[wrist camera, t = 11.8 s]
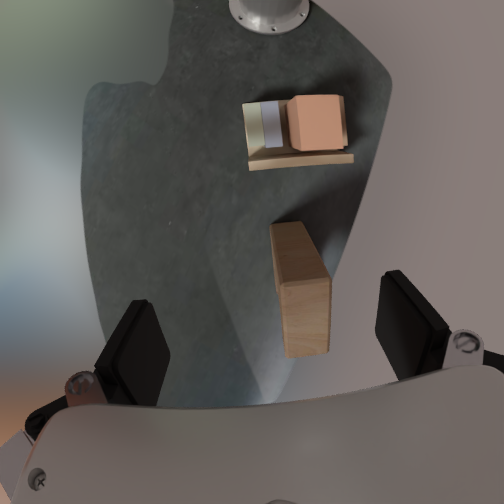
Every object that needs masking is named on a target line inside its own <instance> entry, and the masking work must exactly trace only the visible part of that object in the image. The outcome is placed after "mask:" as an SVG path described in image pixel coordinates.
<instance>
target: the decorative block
mask: <svg viewBox="0 0 504 504" xmlns="http://www.w3.org/2000/svg"><path fill="white" fill-rule="evenodd" d="M269 227H270V236H271V246H272V256H273V266H274V276H275V285H276V292H277V294H278V295H279V303H280V313H281V323H282V334H283V342H284V349H285V357H287V358H296V357H304V356H311V355H317V354H325V353H327V352H328V351H329V345H330V344H329V343H330V327H331V298H332V279H331V277H330V275H329V273H328V271H327V269H326V267H325V265H324V263H323V261H322V259H321V257H320V255H319V253H318V251H317V249H316V247H315V246H314V244H313V242H312V240H311V238H310V236H309V234H308V232H307V230H306V228H305V227H304V225H303V223H302V222H301V221H295V222H285V223H276V224H271V225H270V226H269Z"/></svg>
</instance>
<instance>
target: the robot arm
mask: <svg viewBox="0 0 504 504" xmlns="http://www.w3.org/2000/svg"><path fill="white" fill-rule="evenodd" d="M229 8H230V12H231V14H232V16H233V18H234V19H235V20H236V21H237V22H238V23H239V24H240V25H241V26H243V27H244V28H246V29H248V30H250V31H252V32H255V33H259V34H265V35H278V34H284V33H287V32H290V31H292V30H294V29H296V28H297V27H299V26H300V25H301V24H302V23H303V22H304V20H305V19H306V17H307V15H308V12H309V1H308V0H229ZM300 15H302V16H303V17H302V16H300ZM240 18H242V20H239V19H240ZM272 30H275V31H272ZM375 333H376V336H377V339H378V341H379V342H380V344H381V346H382V348H383V350H384V352H385V354H386V356H387V358H388V360H389V362H390V364H391V366H392V368H393V370H394V372H395V374H396V376H397V378H398V380H399V381H396V382H392V383H388V384H384V385H380V386H375V387H371V388H366V389H362V390H358V391H352V392H347V393H342V394H337V395H332V396H325V397H319V398H312V399H306V400H298V401H291V402H282V403H272V404H261V405H248V406H230V407H158V406H156V404H157V401H158V397H159V394H160V391H161V387H162V384H163V381H164V377H165V374H166V371H167V367H168V364H169V361H170V351H169V348H168V346H167V343H166V341H165V338H164V335H163V333H162V330H161V327H160V325H159V322H158V319H157V316H156V314H155V311H154V308H153V305H152V303H148V301H147V300H146V299H144V300H133V301H132V302H131V304H130V305H129V307H128V309H127V310H126V312H125V314H124V315H123V317H122V319H121V320H120V322H119V323H118V325H117V327H116V329H115V330H114V332H113V334H112V335H111V337H110V339H109V340H108V342H107V344H106V346H105V347H104V349H103V351H102V353H101V354H100V356H99V358H98V360H97V362H96V363H95V365H94V366H95V368H96V369H95V370H94V372H91V371H81V372H78V373H76V374H74V375H72V376H71V377H70V378H69V379H68V381H67V382H66V384H65V396H63V397H61V398H59V399H57V400H55V401H53V402H51V403H49V404H47V405H45V406H43V407H41V408H39V409H37V410H35V411H34V412H33V413H31V414H30V415H29V417H28V418H27V420H26V422H25V431H22V429H21V430H20V431H18V432H17V433H16V434H15V435H14V436H12V437H11V438H10V439H9V440H8V441H7V442H6V443H4V444H3V445H2V446H1V447H0V482H1V484H2V486H3V488H4V490H5V491H6V493H7V495H8V497H9V498H10V500H11V504H504V355H500V354H497V353H493V352H490V351H486V350H484V343H483V340H482V338H481V337H480V336H479V335H478V334H476V333H475V332H472V331H470V330H464V329H463V330H457V331H455V332H453V333H452V332H451V331H450V329H449V326H448V325H447V323H446V322H445V321H444V320H443V318H442V317H441V316H440V315H439V314H438V312H437V311H436V310H435V309H434V308H433V307H432V305H431V304H430V303H429V302H428V301H427V300H426V298H425V297H424V296H423V295H422V294H421V293H420V292H419V291H418V289H417V288H416V287H415V286H414V285H413V284H412V283H411V282H410V281H409V279H408V278H407V277H406V276H405V275H404V274H403V273H402V272H401V271H400V270H393V271H387V272H386V273H385V275H384V276H382V277H381V285H380V294H379V303H378V311H377V318H376V326H375Z"/></svg>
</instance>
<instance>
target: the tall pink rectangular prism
mask: <svg viewBox="0 0 504 504" xmlns="http://www.w3.org/2000/svg"><path fill="white" fill-rule="evenodd" d="M284 109H285V118H286V127H287V136H288V146H290V147H292V148H295V149H298V150H301V151H308V150H326V149H343V136H342V124H341V113H340V104H339V95H297V96H295V97H294V98H292V99H291V100H290V101H289V102H288V103H286V104H285V105H284Z"/></svg>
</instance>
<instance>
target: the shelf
mask: <svg viewBox="0 0 504 504" xmlns="http://www.w3.org/2000/svg"><path fill="white" fill-rule="evenodd" d="M289 101H290V100H278V101H266V102H255V103H246V104H242V105H243V113H244V121H245V129H246V137H247V145H248V153H249V161H248V162H249V171H253V170H262V169H271V168H282V167H293V166H306V165H321V164H339V163H354V159H353V154H351V153H347V152H343V151H339V150H337V149H326V150H308V151H301V150H298V149H295V148H292V147H290V146H288V136H287V127H286V118H285V109H284V105H285V104H286V103H288V102H289ZM339 104H340V113H341V124H342V136H343V146H348V143H347V130H346V119H345V109H344V100H343V96H339Z"/></svg>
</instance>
